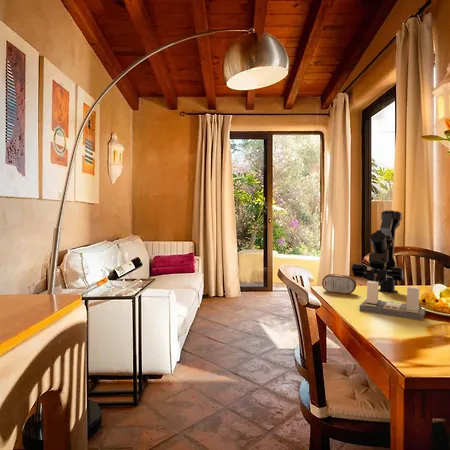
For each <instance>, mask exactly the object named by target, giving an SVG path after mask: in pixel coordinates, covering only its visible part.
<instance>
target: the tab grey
mask: <svg viewBox="0 0 450 450" xmlns="http://www.w3.org/2000/svg"><path fill="white" fill-rule="evenodd" d="M406 293H407V294H406V304H407V310H413V311H418V310H419V306H420V286H411V285H408V286H407V288H406Z"/></svg>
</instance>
